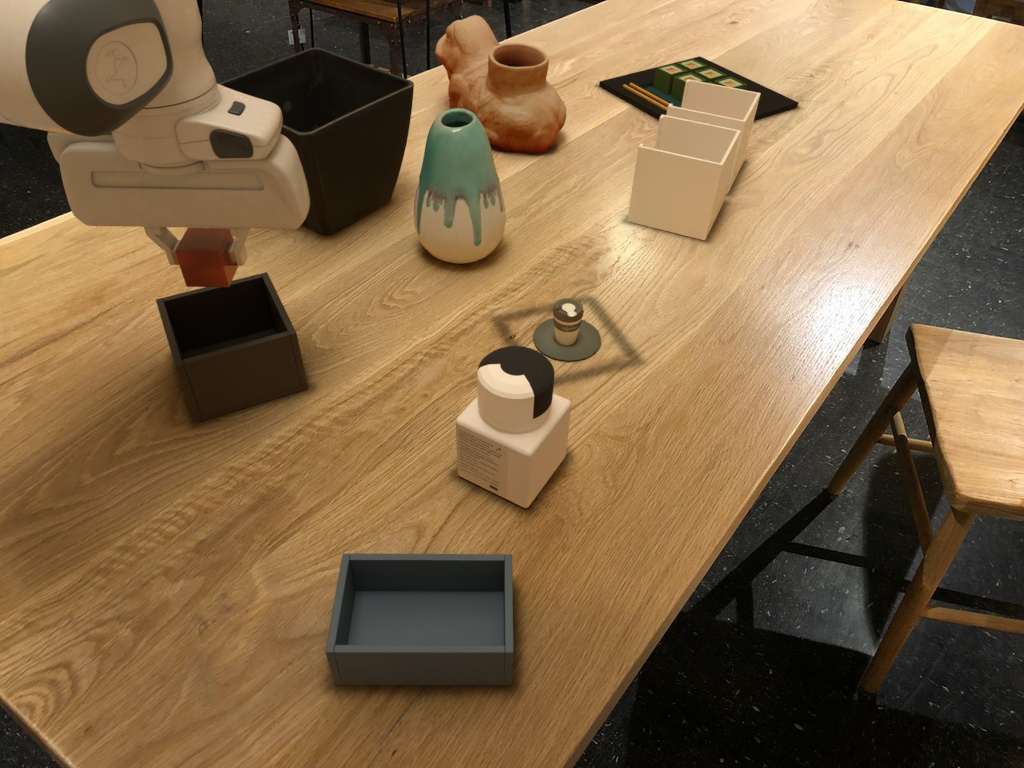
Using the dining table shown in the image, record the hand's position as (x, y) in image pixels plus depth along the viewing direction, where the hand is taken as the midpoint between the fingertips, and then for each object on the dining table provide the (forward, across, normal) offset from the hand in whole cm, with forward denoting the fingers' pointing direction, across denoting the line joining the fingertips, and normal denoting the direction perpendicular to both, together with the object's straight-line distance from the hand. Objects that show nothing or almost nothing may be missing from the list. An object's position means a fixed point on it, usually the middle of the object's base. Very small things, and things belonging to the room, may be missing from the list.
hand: (210, 261), depth 72 cm
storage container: (+14, +55, +41) cm, 70 cm away
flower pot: (+14, +4, +35) cm, 38 cm away
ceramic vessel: (+14, +27, +61) cm, 69 cm away
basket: (+14, 0, 0) cm, 14 cm away
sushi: (+14, +63, +75) cm, 99 cm away
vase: (+14, +22, +24) cm, 36 cm away
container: (+14, +29, -13) cm, 35 cm away
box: (+14, +22, -30) cm, 40 cm away
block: (+2, 0, 0) cm, 2 cm away
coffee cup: (+14, +35, +6) cm, 38 cm away
